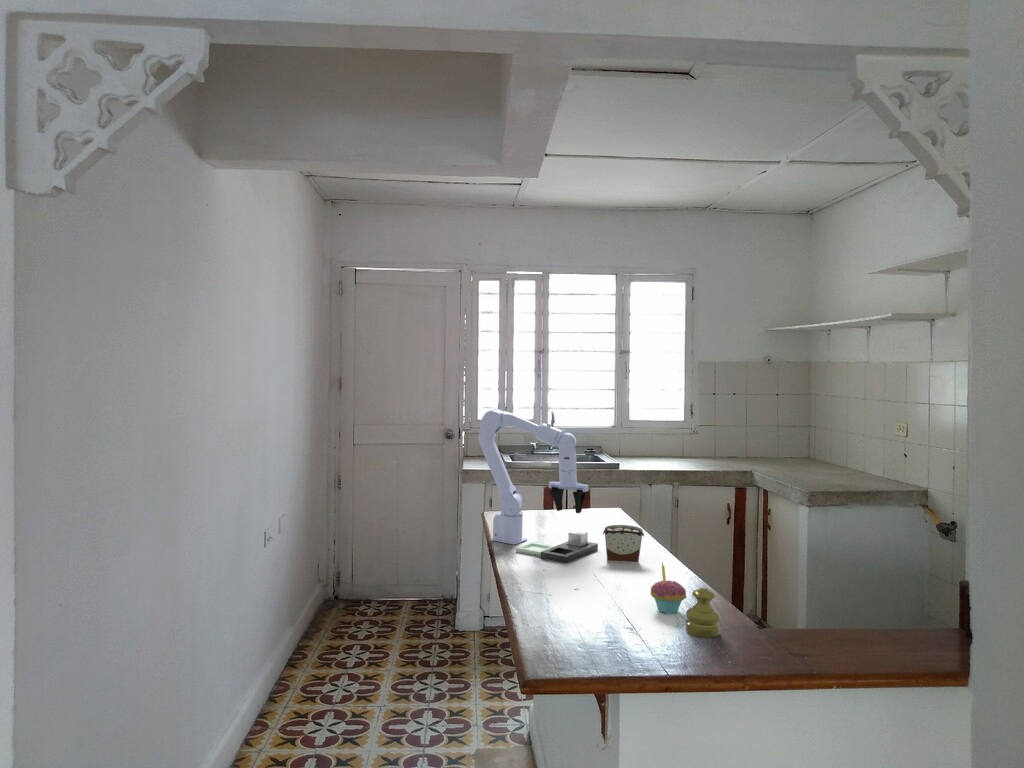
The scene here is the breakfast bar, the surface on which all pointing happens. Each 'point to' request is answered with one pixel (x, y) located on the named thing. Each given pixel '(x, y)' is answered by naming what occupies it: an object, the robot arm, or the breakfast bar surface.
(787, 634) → the breakfast bar surface
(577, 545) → the grey rectangular block
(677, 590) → the cupcake
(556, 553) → the dark grey rectangular frame
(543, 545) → the parts tray
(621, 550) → the food container
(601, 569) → the breakfast bar surface
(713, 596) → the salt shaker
